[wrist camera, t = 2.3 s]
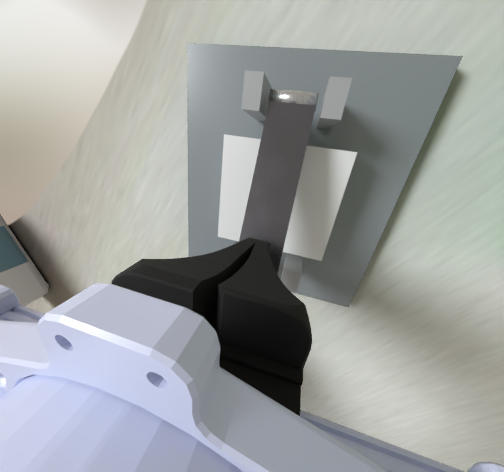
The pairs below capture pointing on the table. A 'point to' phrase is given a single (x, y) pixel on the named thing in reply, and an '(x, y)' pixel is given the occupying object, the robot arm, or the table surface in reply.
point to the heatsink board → (361, 129)
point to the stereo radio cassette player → (19, 268)
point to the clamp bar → (278, 168)
